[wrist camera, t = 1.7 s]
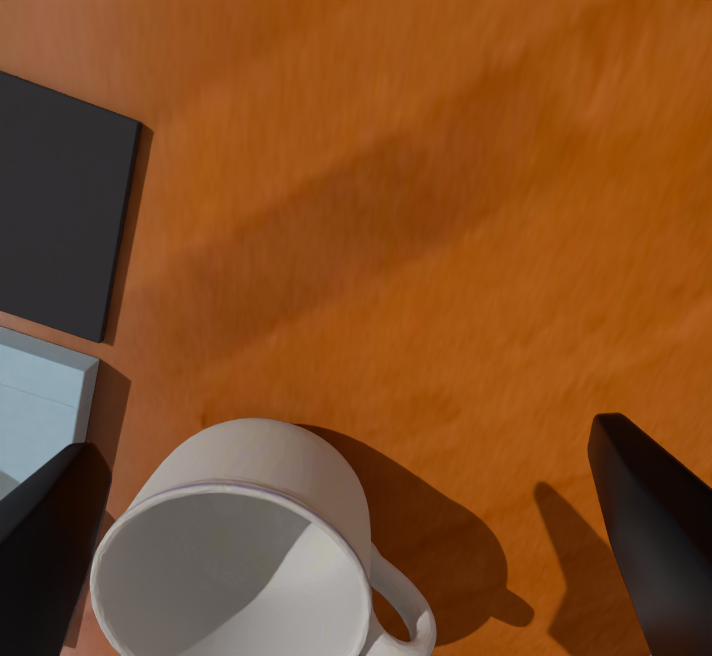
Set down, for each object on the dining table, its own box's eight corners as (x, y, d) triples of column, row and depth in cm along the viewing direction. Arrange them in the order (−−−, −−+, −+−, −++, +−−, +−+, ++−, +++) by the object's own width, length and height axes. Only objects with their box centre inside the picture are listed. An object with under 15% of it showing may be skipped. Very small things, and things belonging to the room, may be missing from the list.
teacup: (132, 495, 28) (41, 632, 21) (232, 342, 25) (164, 444, 17) (350, 615, 31) (338, 776, 23) (473, 492, 27) (503, 638, 20)
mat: (103, 340, 25) (99, 343, 25) (-114, 267, 24) (-122, 270, 24) (142, 122, 21) (138, 122, 21) (-114, 29, 21) (-123, 27, 20)
